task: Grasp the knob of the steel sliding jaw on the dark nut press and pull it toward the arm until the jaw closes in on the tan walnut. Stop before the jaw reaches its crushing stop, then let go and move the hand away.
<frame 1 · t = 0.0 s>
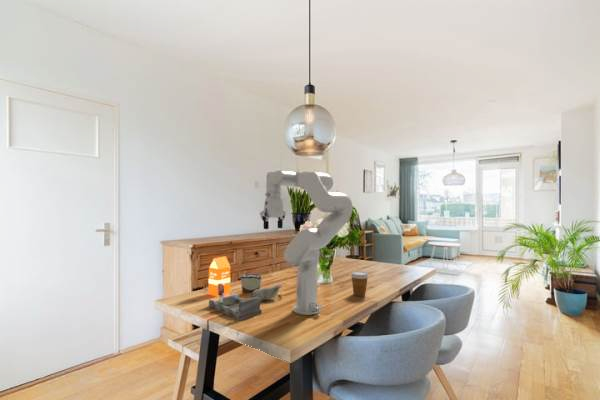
hand: (273, 228, 158), 37 cm above the table, tool pointing down, fingers open, 9 cm apart
food container: (252, 292, 170), on the table
nut press: (234, 309, 142), on the table
orange juice: (219, 293, 167), on the table
disposable coffee cup: (359, 295, 167), on the table
decorative bird: (266, 300, 156), on the table
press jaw: (225, 293, 147), point 6 cm above the table, slide at 0.0 cm
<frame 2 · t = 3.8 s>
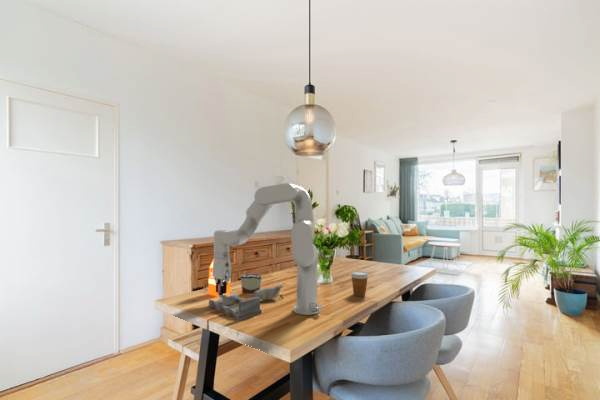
hand: (221, 292, 150), 6 cm above the table, tool pointing down, fingers closed on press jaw, 3 cm apart
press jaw: (225, 293, 147), point 6 cm above the table, slide at 0.0 cm, touching gripper
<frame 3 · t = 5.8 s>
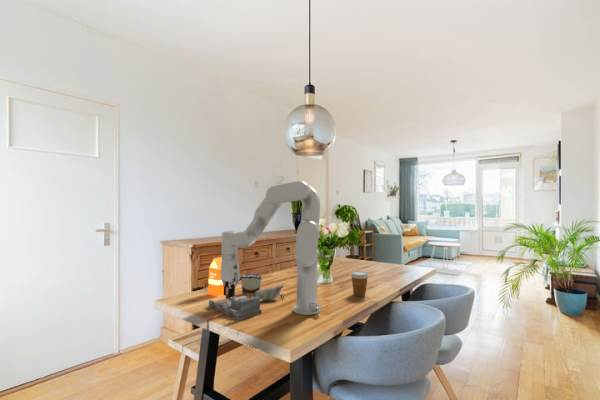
hand: (229, 295, 145), 6 cm above the table, tool pointing down, fingers closed on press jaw, 3 cm apart
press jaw: (233, 296, 142), point 6 cm above the table, slide at 6.9 cm, touching gripper
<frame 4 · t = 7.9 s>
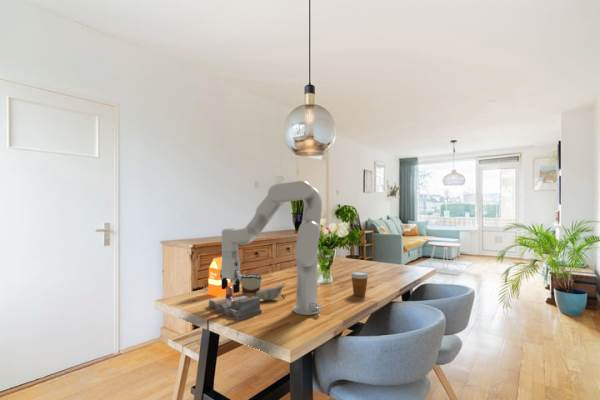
hand: (230, 290, 145), 8 cm above the table, tool pointing down, fingers open, 9 cm apart
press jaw: (233, 296, 142), point 6 cm above the table, slide at 7.0 cm
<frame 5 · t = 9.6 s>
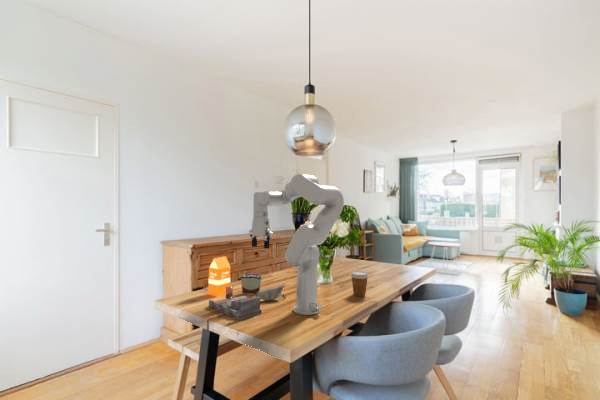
hand: (260, 247, 161), 26 cm above the table, tool pointing down, fingers open, 9 cm apart
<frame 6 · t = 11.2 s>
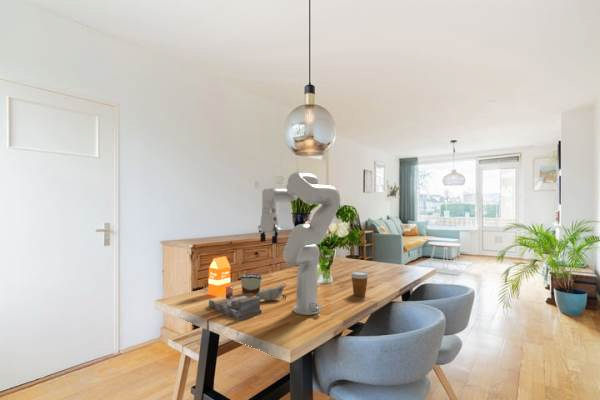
hand: (268, 242, 167), 28 cm above the table, tool pointing down, fingers open, 9 cm apart
at the end: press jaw slide at 7.0 cm; the gripper is holding nothing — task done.
